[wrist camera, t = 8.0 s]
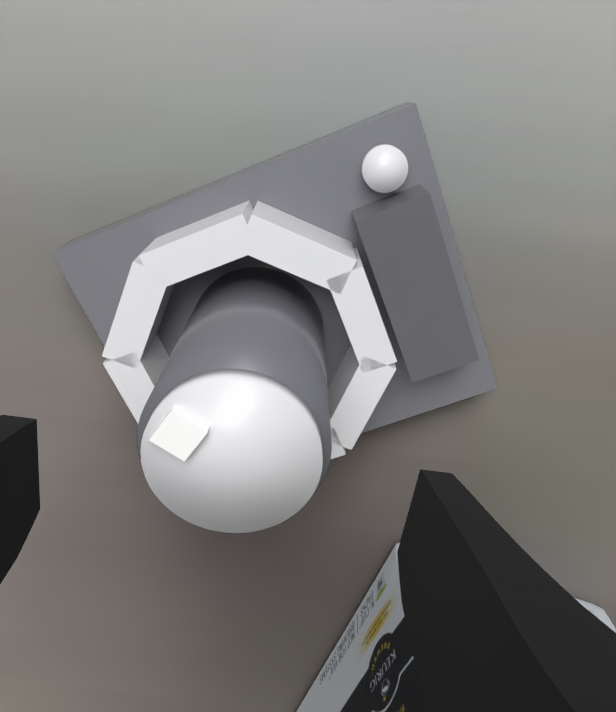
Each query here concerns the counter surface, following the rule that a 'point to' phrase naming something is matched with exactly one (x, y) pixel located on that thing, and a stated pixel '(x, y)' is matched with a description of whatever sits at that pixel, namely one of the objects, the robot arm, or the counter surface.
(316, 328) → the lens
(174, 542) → the counter surface
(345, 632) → the tea box
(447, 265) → the grey square plate
